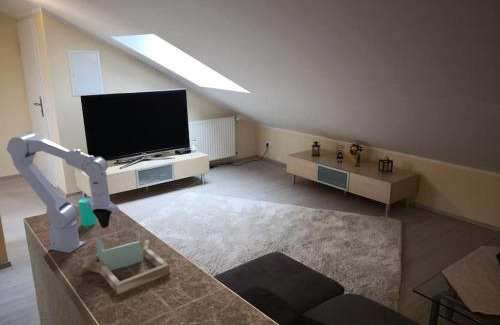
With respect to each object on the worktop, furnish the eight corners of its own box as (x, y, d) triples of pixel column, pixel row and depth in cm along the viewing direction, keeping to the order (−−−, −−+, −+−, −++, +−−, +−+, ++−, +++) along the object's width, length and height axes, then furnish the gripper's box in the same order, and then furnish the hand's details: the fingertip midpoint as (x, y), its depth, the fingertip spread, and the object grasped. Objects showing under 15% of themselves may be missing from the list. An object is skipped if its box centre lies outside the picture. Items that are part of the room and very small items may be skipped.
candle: (93, 226, 156) (89, 199, 153) (79, 226, 157) (75, 199, 153) (99, 220, 162) (95, 194, 159) (85, 220, 162) (81, 194, 159)
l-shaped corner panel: (141, 261, 128) (139, 241, 126) (105, 272, 122) (102, 251, 120) (132, 247, 138) (130, 228, 136) (98, 256, 132) (95, 237, 130)
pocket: (85, 269, 124) (83, 261, 123) (149, 246, 138) (148, 239, 137) (108, 298, 109) (107, 289, 108) (177, 269, 123) (177, 261, 122)
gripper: (77, 192, 134) (82, 227, 138) (104, 198, 127) (109, 235, 130) (93, 186, 140) (98, 219, 143) (121, 192, 133) (125, 227, 136)
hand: (105, 226), depth 137 cm, fingers closed
